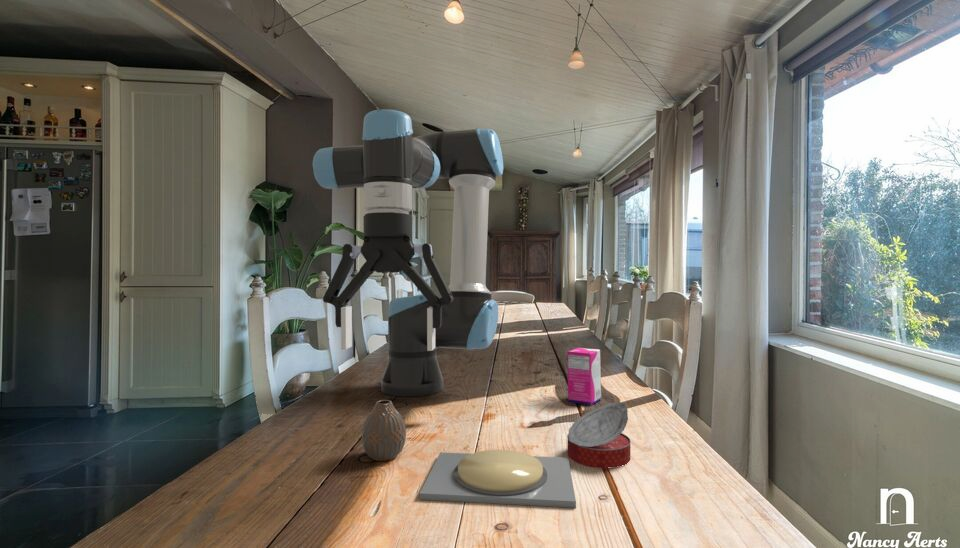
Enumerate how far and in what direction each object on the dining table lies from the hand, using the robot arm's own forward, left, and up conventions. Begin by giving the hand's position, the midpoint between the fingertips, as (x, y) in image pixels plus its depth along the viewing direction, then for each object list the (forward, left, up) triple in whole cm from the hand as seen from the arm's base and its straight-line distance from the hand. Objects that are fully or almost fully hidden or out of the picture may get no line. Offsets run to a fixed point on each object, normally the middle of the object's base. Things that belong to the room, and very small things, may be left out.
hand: (388, 348), depth 77 cm
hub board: (+6, +18, -17) cm, 26 cm away
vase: (-1, -1, -18) cm, 18 cm away
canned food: (-5, +33, -18) cm, 38 cm away
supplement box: (-37, +34, -18) cm, 53 cm away
